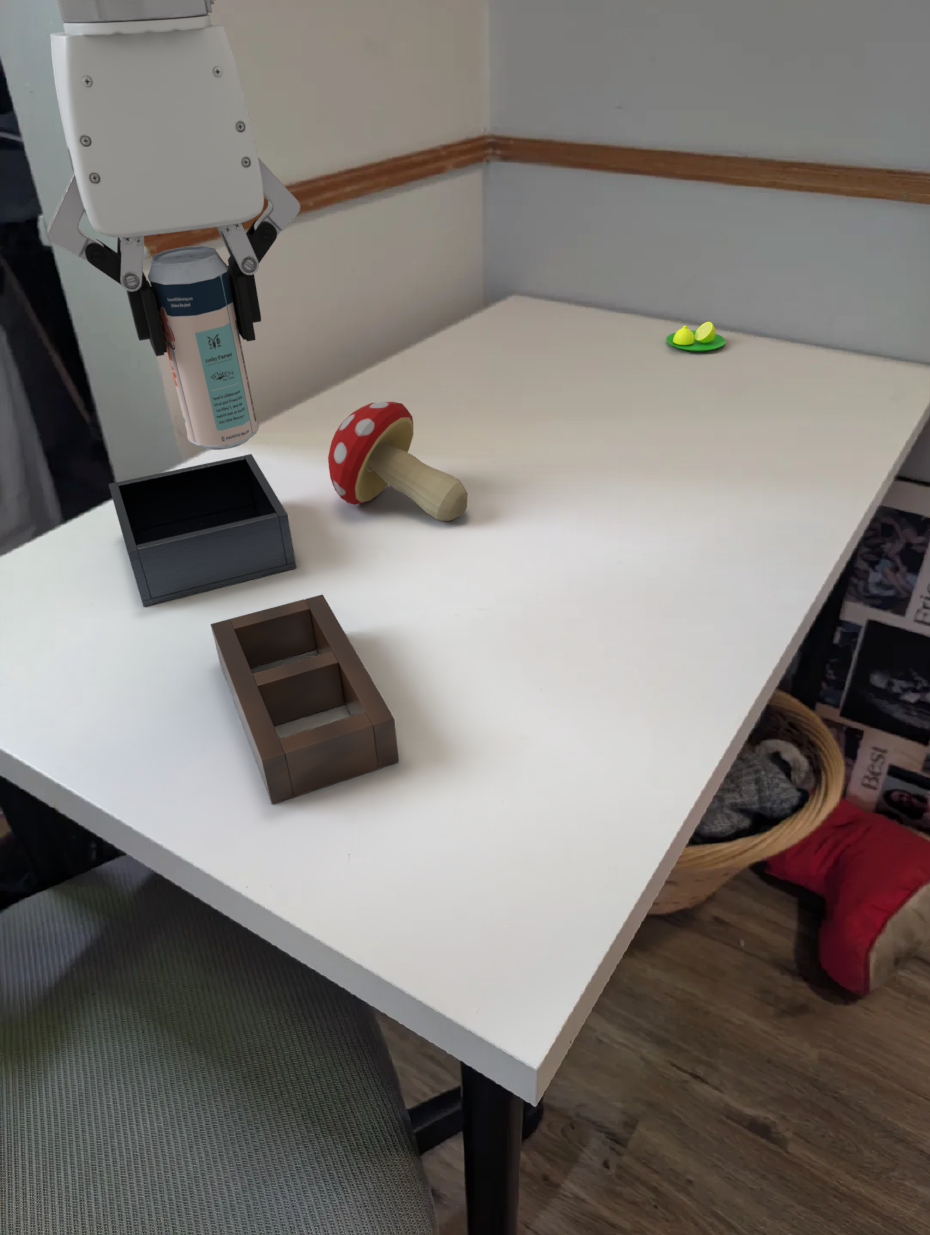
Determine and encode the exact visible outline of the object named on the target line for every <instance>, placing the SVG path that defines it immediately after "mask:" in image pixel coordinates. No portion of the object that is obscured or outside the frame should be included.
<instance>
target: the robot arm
mask: <svg viewBox="0 0 930 1235" xmlns="http://www.w3.org/2000/svg"><path fill="white" fill-rule="evenodd" d="M56 1H57V5H58V9H59V13H60V18H61V21H62V26H63V30H64V31H61V32H53V33H52V32H51V33H50V51H51V62H52V72H53V80H54V87H55V93H56V98H57V103H58V105H57V106H58V110H59V114H60V119H61V124H62V129H63V130H62V131H63V133H64V134H63V135H64V139H65V143H66V148H67V153H68V156H69V157H68V158H69V162H70V166H71V171H72V172H71V174H70V176H69V178H68V181H67V183H66V185H65V187H64V190H63V192H62V194H61V196H60V198H59V200H58V202H57V205H56V207H55V209H54V212H53V214H52V216H51V218H50V220H49V223H48V225H47V227H46V233H47V237H48V238H47V239H49V241H50V242H51V243H52V244H53V245H56V246H58V247H59V248H61V249H62V250H65V251H67V252H68V253H70V254H72V255H74V256H75V257H78V258H81V259H82V260H84V261H86V262H88V263H89V264H90V265H92V266H93V267H95V269H97V270H99V271H100V272H102V273H103V274H105V275H106V276H107V277H109V278H110V279H111V280H114V282H116V283H118V284H119V285H121V287H122V288H123V289H124V290H126V291H125V292H126V295H127V299H128V303H129V307H130V311H131V315H132V319H133V323H134V327H135V331H136V335H137V338H138V341H147V340H149V343H150V346H151V348H152V350H153V353H154V356H155V357H162V356H165V354H166V353H167V348H166V344H165V339H164V335H163V331H162V326H161V322H160V317H159V313H158V309H157V304H156V300H155V295H154V292H153V289H152V287H151V284H150V281H149V279H148V278H147V277H146V275H145V273H144V270H143V269H144V251H145V250H144V249H145V236H154V235H162V234H163V235H164V234H171V233H178V232H187V231H195V230H202V229H211V228H217V231H218V233H219V235H220V237H221V239H222V242H223V244H224V246H225V248H226V251H227V252H228V253H227V254H228V255H229V257H228V258H227V263H228V265H227V267H228V270H227V275H228V280H229V285H230V290H231V295H232V300H233V305H234V310H235V315H236V320H237V325H238V330H239V335H240V338H242V340H243V341H246V342H253V341H256V334H255V327H254V324H255V323H260V322H262V314H261V308H260V300H259V297H258V288H257V284H256V276H255V274H256V273H257V272H258V270H259V268H260V263H261V261H262V260H263V259H264V258H265V255H267V253H268V252H269V250H270V248H271V247H272V246H273V244H274V243H275V241H276V240H277V238H278V236H279V234H281V232H283V231H284V230H285V229H286V228H287V226H288V225H289V224H290V223H291V222H292V221H293V220H294V219H295V218H296V216H297V215H299V213H300V212H301V202H299V200H298V199H297V198H296V197H295V196H294V195H293V194H292V192H291V191H290V190H289V189H288V188H287V187H286V186H285V184H283V183H282V182H281V180H279V178H278V177H277V176H276V175H275V174H274V172H272V171H271V170H270V168H269V167H267V165H266V164H265V163H264V162H263V161H262V159H260V157H259V156H258V151H257V146H256V141H255V136H254V132H253V128H252V123H251V119H250V115H249V110H248V106H247V102H246V97H245V93H244V89H243V85H242V82H241V78H240V74H239V71H238V66H237V63H236V61H235V57H234V53H233V51H232V47H231V45H230V41H229V38H228V36H227V32H226V30H225V26H224V25H223V24H221V23H212V20H211V15H210V13H213V10H212V5H215V0H56ZM265 198H266V200H267V207H266V209H265V210H264V211H263V209H264V205H265ZM262 211H263V213H262V214H261V212H262ZM84 214H85V216H86V217H87V219H88V221H89V223H90V226H91V227H92V228H93V229H94V230H95V232H96V233H99V234H101V235H103V236H106V237H110V238H116V249H115V250H116V251H115V250H114V249H112V248H111V247H109V246H108V245H107V244H105V243H104V242H103V241H101V240H99V239H98V238H97V239H96V238H94V237H92V236H91V235H89V234H87V233H85V232H84V231H82V229H80V228H79V225H80V222H81V220H82V218H83V216H84ZM260 214H261V216H260V217H259V218H257V219H255V220H254V221H253V222H252V224H251V225H250V226H249V228H248V230H247V231H246V230H245V228H244V225H243V224H242V223H246V222H249V221H250V220H251V221H252V220H253V219H254V218H256V217H257V216H259V215H260ZM147 279H148V280H147Z"/></svg>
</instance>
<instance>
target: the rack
mask: <svg viewBox="0 0 930 1235" xmlns="http://www.w3.org/2000/svg"><path fill="white" fill-rule="evenodd" d="M210 627H211V632H212V637H213V641H214V645H215V649H216V652H217V653H216V654H217V657H218V661H219V665H220V668H221V671H222V673H223V676H224V679H225V681H226V684H227V687H228V689H229V692H230V695H231V698H232V701H233V703H234V707H235V709H236V711H237V712H236V713H237V714H238V717H239V719H240V723H241V725H242V728H243V731H244V734H245V736H246V739H247V741H248V744H249V747H250V749H251V753H252V755H253V758H254V760H255V763H256V766H257V769H258V771H259V774H260V776H261V780H262V782H263V785H264V788H265V790H266V793H267V795H268V799H269V801H270V804H271V805H274V804H277V803H280V802H283V801H286V800H289V799H293V798H294V797H298V796H301V795H304V794H307V793H310V792H313V791H316V790H319V789H322V788H325V787H328V786H331V785H334V784H337V783H340V782H343V781H347V780H349V779H352V778H355V777H358V776H361V775H364V774H368V773H370V772H374V771H376V770H379V769H383V768H385V767H388V766H391V765H393V764H397V763H399V762H400V761H399V760H400V759H399V750H398V742H397V741H398V739H397V730H396V722H395V717H394V715H393V714H392V712H391V710H390V709H389V707H388V705H387V703H386V702H385V700H384V698H383V697H382V695H381V693H380V691H379V689H378V688H377V686H376V684H375V682H374V681H373V679H372V677H371V676H370V674H369V671H368V670H367V669H366V667H365V665H364V663H363V661H362V660H361V658H360V657H359V655H358V653H357V652H356V650H355V648H354V646H353V645H352V643H351V641H350V639H349V637H348V636H347V634H346V631H344V629H343V627H342V625H341V623H340V622H339V620H338V618H337V617H336V615H335V612H333V610H332V608H331V605H329V603H328V601H327V599H326V597H325V595H323V594H319V595H315V596H311V597H308V598H303V599H300V600H295V601H291V602H288V603H285V604H281V605H276V606H272V607H269V608H265V609H262V610H259V611H253V612H251V613H247V614H243V615H239V616H237V617H236V616H235V617H231V618H228V619H223V620H221V621H217V622H213V623H211V624H210ZM315 650H316V651H317V653H318V654H317V655H314V656H310V657H306V658H303V659H300V660H296V661H292V662H288V663H286V664H283V665H279V666H275V667H271V668H268V669H265V670H260V671H258V672H254V673H253V672H252V668H256V667H259V666H262V665H266V664H270V663H273V662H276V661H280V660H284V659H288V658H290V657H291V658H292V657H294V656H298V655H301V654H304V653H308V652H312V651H315ZM343 705H345V707H346V709H347V711H348V714H349V715H350V716H348V717H345V718H341V719H338V720H335V721H332V722H329V723H325V724H322V725H319V726H315V727H312V728H309V729H306V730H302V731H299V732H297V733H296V732H295V733H293V734H290V735H287V736H284V737H279V735H278V733H277V730H276V728H275V726H278V725H281V724H284V723H287V722H291V721H294V720H297V719H301V718H304V717H307V716H310V715H314V714H317V713H320V712H324V711H327V710H329V709H333V708H336V707H340V706H343Z"/></svg>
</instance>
